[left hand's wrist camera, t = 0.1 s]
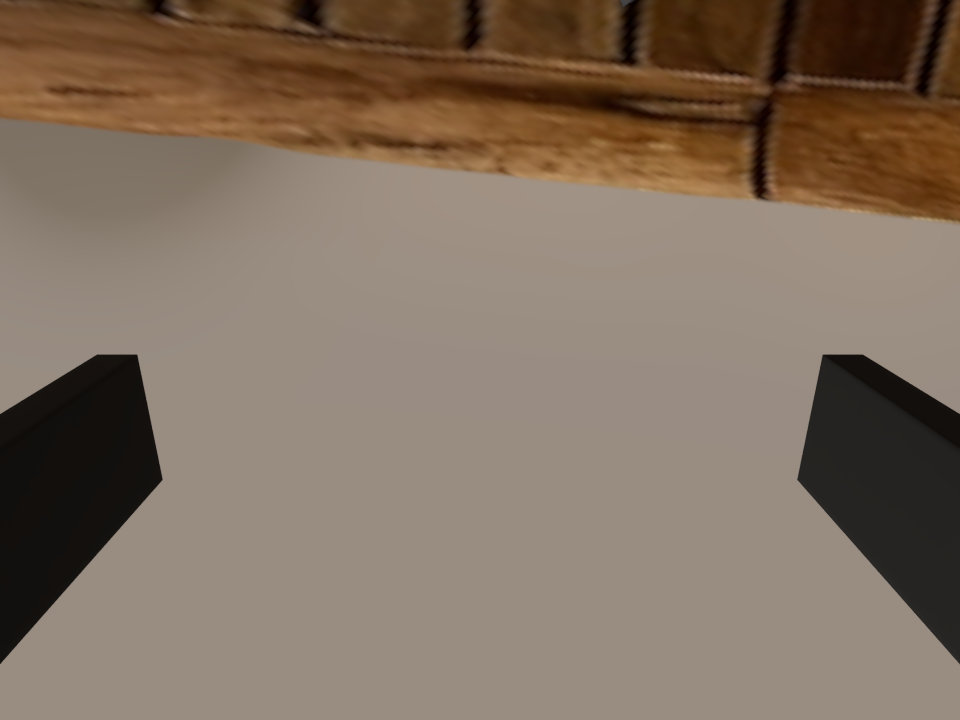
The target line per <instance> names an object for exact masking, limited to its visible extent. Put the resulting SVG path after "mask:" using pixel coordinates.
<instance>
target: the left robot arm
mask: <svg viewBox="0 0 960 720" xmlns="http://www.w3.org/2000/svg"><path fill="white" fill-rule="evenodd" d="M797 480H798V481H799V482H800V483H801V484H802V486H803V487H804V488H805V489H806V490H807V491H808V492H809V493H810V495H811V496H812V497H813V498H814V499H815V500H816V501H817V502H818V504H819V505H820V506H821V507H822V508H823V509H824V510H825V512H826V513H827V514H828V515H829V516H830V517H831V518H832V520H833V521H834V522H835V523H836V524H837V525H838V526H839V528H840V529H841V530H842V531H843V532H844V533H845V534H846V535H847V537H848V538H849V539H850V540H851V541H852V542H853V543H854V545H855V546H856V547H857V548H858V549H859V550H860V551H861V552H862V554H863V555H864V556H865V557H866V558H867V559H868V560H869V562H870V563H871V564H872V565H873V566H874V567H875V568H876V569H877V571H878V572H879V573H880V574H881V575H882V576H883V577H884V579H885V580H886V581H887V582H888V583H889V584H890V585H891V587H892V588H893V589H894V590H895V591H896V592H897V593H898V594H899V596H900V597H901V598H902V599H903V600H904V601H905V602H906V603H907V605H908V606H909V607H910V608H911V609H912V610H913V611H914V613H915V614H916V615H917V616H918V617H919V618H920V619H921V621H922V622H923V623H924V624H925V625H926V626H927V627H928V629H929V630H930V631H931V632H932V633H933V634H934V635H935V636H936V638H937V639H938V640H939V641H940V642H941V643H942V644H943V645H944V647H945V648H946V649H947V650H948V651H949V652H950V653H951V655H952V656H953V657H954V658H955V659H956V660H957V661H958V663H959V664H960V414H959V413H957V412H955V411H954V410H952V409H951V408H949V407H947V406H946V405H944V404H942V403H941V402H939V401H938V400H936V399H934V398H933V397H931V396H929V395H928V394H926V393H924V392H923V391H921V390H920V389H918V388H916V387H915V386H913V385H912V384H910V383H908V382H907V381H905V380H903V379H902V378H900V377H898V376H897V375H895V374H894V373H892V372H890V371H889V370H887V369H885V368H884V367H882V366H881V365H879V364H877V363H876V362H874V361H872V360H871V359H869V358H867V357H866V356H864V355H823V356H822V361H821V366H820V371H819V376H818V381H817V386H816V391H815V396H814V400H813V406H812V410H811V415H810V420H809V425H808V430H807V435H806V440H805V445H804V450H803V455H802V460H801V464H800V469H799V474H798V479H797ZM161 481H162V474H161V469H160V464H159V459H158V455H157V450H156V445H155V440H154V435H153V430H152V425H151V420H150V415H149V410H148V405H147V401H146V396H145V391H144V386H143V381H142V376H141V371H140V366H139V361H138V356H137V355H96V356H94V357H93V358H91V359H89V360H88V361H86V362H84V363H83V364H81V365H79V366H78V367H76V368H75V369H73V370H71V371H70V372H68V373H66V374H65V375H63V376H62V377H60V378H58V379H57V380H55V381H53V382H52V383H50V384H48V385H47V386H45V387H44V388H42V389H40V390H39V391H37V392H36V393H34V394H32V395H31V396H29V397H27V398H26V399H24V400H22V401H21V402H19V403H18V404H16V405H14V406H13V407H11V408H9V409H8V410H6V411H5V412H3V413H1V414H0V664H1V662H2V661H3V660H4V659H5V658H6V657H7V656H8V655H9V653H10V652H11V651H12V650H13V649H14V648H15V647H16V646H17V644H18V643H19V642H20V641H21V640H22V639H23V637H24V636H25V635H26V634H27V633H28V632H29V631H30V630H31V628H32V627H33V626H34V625H35V624H36V623H37V622H38V621H39V619H40V618H41V617H42V616H43V615H44V614H45V613H46V611H47V610H48V609H49V608H50V607H51V606H52V605H53V604H54V602H55V601H56V600H57V599H58V598H59V597H60V596H61V594H62V593H63V592H64V591H65V590H66V589H67V588H68V587H69V585H70V584H71V583H72V582H73V581H74V580H75V578H76V577H77V576H78V575H79V574H80V573H81V572H82V571H83V570H84V568H85V567H86V566H87V565H88V564H89V563H90V561H91V560H92V559H93V558H94V557H95V556H96V555H97V554H98V552H99V551H100V550H101V549H102V548H103V547H104V546H105V545H106V543H107V542H108V541H109V540H110V539H111V538H112V537H113V535H114V534H115V533H116V532H117V531H118V530H119V529H120V528H121V526H122V525H123V524H124V523H125V522H126V521H127V520H128V518H129V517H130V516H131V515H132V514H133V513H134V512H135V510H136V509H137V508H138V507H139V506H140V505H141V504H142V503H143V501H144V500H145V499H146V498H147V497H148V496H149V495H150V493H151V492H152V491H153V490H154V489H155V488H156V487H157V486H158V484H159V483H160V482H161Z"/></svg>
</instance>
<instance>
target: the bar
mask: <svg viewBox="0 0 960 720" xmlns="http://www.w3.org/2000/svg"><path fill="white" fill-rule="evenodd" d="M633 1H634V0H621V3H622V5H623V6H626V5H628V4H629V3H631V2H633Z"/></svg>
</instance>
